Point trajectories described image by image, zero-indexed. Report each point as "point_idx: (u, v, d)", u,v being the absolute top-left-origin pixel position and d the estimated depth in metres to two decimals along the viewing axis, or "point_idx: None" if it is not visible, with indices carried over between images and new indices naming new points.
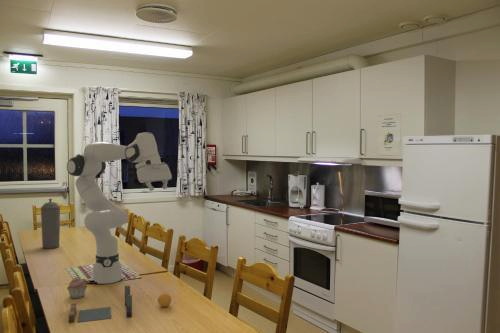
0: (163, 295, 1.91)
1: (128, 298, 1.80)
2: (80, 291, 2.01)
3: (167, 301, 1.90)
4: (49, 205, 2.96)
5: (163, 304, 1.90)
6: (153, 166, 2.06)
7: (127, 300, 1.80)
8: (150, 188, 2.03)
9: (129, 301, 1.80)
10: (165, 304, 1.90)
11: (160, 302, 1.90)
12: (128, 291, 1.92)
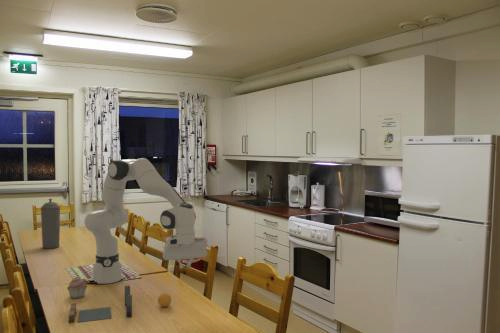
0: (163, 295, 1.91)
1: (128, 298, 1.80)
2: (80, 291, 2.01)
3: (167, 301, 1.90)
4: (49, 205, 2.96)
5: (163, 304, 1.90)
6: (181, 245, 1.91)
7: (127, 300, 1.80)
8: (180, 266, 1.94)
9: (129, 301, 1.80)
10: (165, 304, 1.90)
11: (160, 302, 1.90)
12: (128, 291, 1.92)
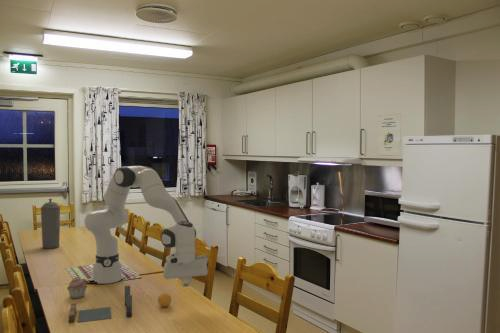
0: (163, 295, 1.91)
1: (128, 298, 1.80)
2: (80, 291, 2.01)
3: (167, 301, 1.90)
4: (49, 205, 2.96)
5: (163, 304, 1.90)
6: (182, 263, 1.92)
7: (127, 300, 1.80)
8: (182, 284, 1.94)
9: (129, 301, 1.80)
10: (165, 304, 1.90)
11: (160, 302, 1.90)
12: (128, 291, 1.92)
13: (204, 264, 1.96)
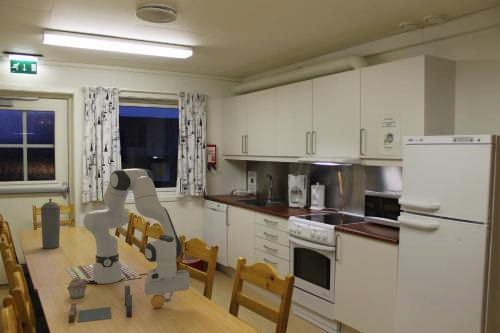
0: (153, 299, 1.89)
1: (128, 298, 1.80)
2: (80, 291, 2.01)
3: (159, 302, 1.88)
4: (49, 205, 2.96)
5: (158, 306, 1.89)
6: (163, 278, 1.89)
7: (127, 300, 1.80)
8: (164, 299, 1.92)
9: (129, 301, 1.80)
10: (159, 305, 1.89)
11: (154, 306, 1.88)
12: (128, 291, 1.92)
13: (186, 279, 1.94)
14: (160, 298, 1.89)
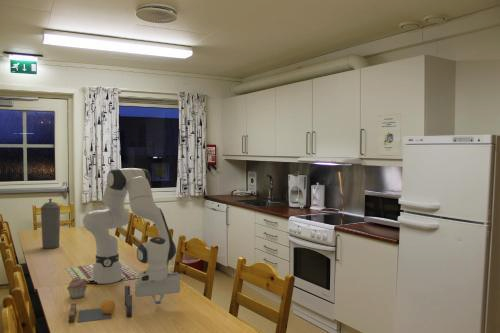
0: (101, 307, 1.82)
1: (128, 298, 1.80)
2: (80, 291, 2.01)
3: (108, 308, 1.81)
4: (49, 205, 2.96)
5: (109, 312, 1.81)
6: (153, 281, 1.88)
7: (127, 300, 1.80)
8: (154, 301, 1.91)
9: (129, 301, 1.80)
10: (110, 310, 1.81)
11: (106, 313, 1.81)
12: (128, 291, 1.92)
13: (177, 281, 1.92)
14: (107, 303, 1.81)
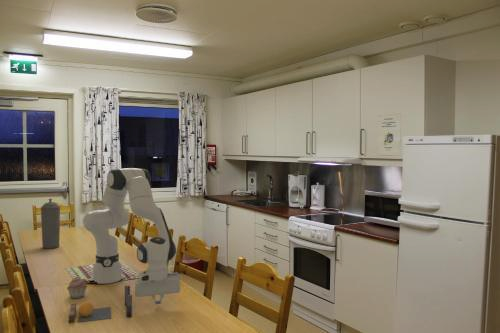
0: (92, 310, 1.80)
1: (128, 298, 1.80)
2: (80, 291, 2.01)
3: (85, 313, 1.78)
4: (49, 205, 2.96)
5: (84, 308, 1.78)
6: (153, 281, 1.88)
7: (127, 300, 1.80)
8: (154, 301, 1.91)
9: (129, 301, 1.80)
10: (83, 310, 1.78)
11: (88, 306, 1.79)
12: (128, 291, 1.92)
13: (177, 281, 1.92)
14: (85, 316, 1.79)
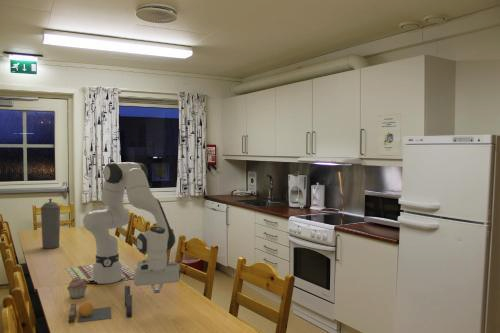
0: (92, 310, 1.80)
1: (128, 298, 1.80)
2: (80, 291, 2.01)
3: (85, 313, 1.78)
4: (49, 205, 2.96)
5: (84, 308, 1.78)
6: (153, 270, 1.88)
7: (127, 300, 1.80)
8: (153, 291, 1.91)
9: (129, 301, 1.80)
10: (83, 310, 1.78)
11: (88, 306, 1.79)
12: (128, 291, 1.92)
13: (176, 271, 1.92)
14: (85, 316, 1.79)
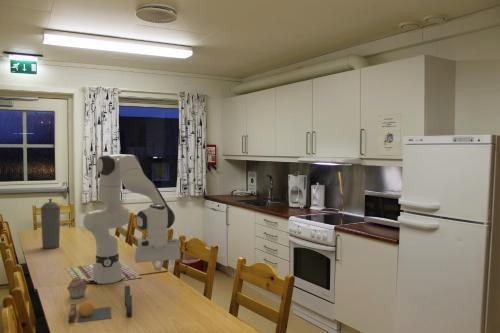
0: (92, 310, 1.80)
1: (128, 298, 1.80)
2: (80, 291, 2.01)
3: (85, 313, 1.78)
4: (49, 205, 2.96)
5: (84, 308, 1.78)
6: (153, 246, 1.87)
7: (127, 300, 1.80)
8: (154, 268, 1.90)
9: (129, 301, 1.80)
10: (83, 310, 1.78)
11: (88, 306, 1.79)
12: (128, 291, 1.92)
13: (177, 248, 1.91)
14: (85, 316, 1.79)
